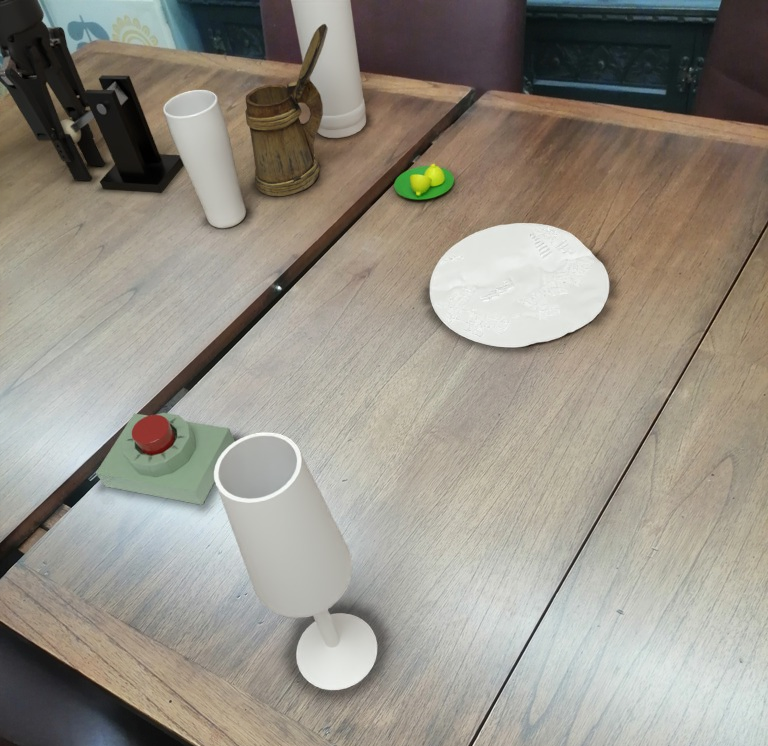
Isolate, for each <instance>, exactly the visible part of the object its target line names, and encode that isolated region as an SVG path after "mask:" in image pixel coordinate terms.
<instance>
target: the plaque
mask: <svg viewBox="0 0 768 746" xmlns="http://www.w3.org/2000/svg"><path fill="white" fill-rule="evenodd" d="M609 293H610V279H609V274H608V271H607V270H606V267H605V266H604V264H603V263H602V262H601V260H599V259H598V258H597V257H596V256H595V255H594V254H593V252H592V250H590V249H589V248H588V247H587V246H585V244H583V242H582V241H581V240H580V239H579V238H577V237H576V236H575V235H574V234H572V233H571V232H569V231H567V230H564V229H562V228H559V227H557V226H554V225H548V224H541V223H535V222H534V223H533V222H524V223H523V222H516V223H514V222H513V223H508V224H498V225H494V226H492V227H488V228H485V229H481V230H478V231H475V232H473V233H471V234H470V235H467V236H466V237H464V238H462V239H461V240H459V241H458V242H457V243H455V244H454V245H452V246H451V247H450V248H449V249H448V250H446V252H445V253H444V254H443V255H442V256H441V258H440V259H439V260H438V262H437V264H436V265H435V267H434V269H433V272H432V274H431V277H430V282H429V298H430V303H431V306H432V308H433V310H434V312H435V314H436V315H437V316H438V318H439V320H441V322H442V323H443V324H444V325H445V326H446V327H447V328H449V330H451V331H453V332H454V333H456V334H457V335H459V336H461V337H463V338H466V339H468V340H470V341H473V342H475V343H479V344H482V345H487V346H492V347H497V348H522V347H527V346H529V345H534V344H537V343H544V342H549V341H553V340H557V339H560V338H562V337H564V336H565V335H567V334H569V333H573V332H575V331H577V330H579V329H581V328H582V327H584V326H586V325H588V324H589V323H590V322H592V321H593V320H594V319H595V318H596V317H597V316H598V315H599V314H600V313H601V311H602V310H603V308H604V306H605V304H606V302H607V300H608V297H609Z"/></svg>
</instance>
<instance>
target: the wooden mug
mask: <svg viewBox="0 0 768 746" xmlns="http://www.w3.org/2000/svg"><path fill="white" fill-rule="evenodd" d="M327 30H328V27H327V26H326V24H323V25H321V26H320V27H319V28H318V29H317V30H316V32H315V33H314V35H313V37H312V39H311V42H310V45H309V47H308V50H307V52H306V55H305V58H304V61H303V60H302V64H301V67H300V71H299V73H298V74H299V75H298V79H297V80H296V81H293V82H290V83H287V84H286V86H285V85H283V84H268V85H263V86H259V87H256V88H254V89H253V90H250V92H248V93H247V94H246V95H245V104H246V109H245V111H244V112H245V122H246V125H247V126H248V127H249V131H250V132H249V133H250V136H251V137H250V138H251V145H252V146H251V147H252V152H253V160H254V179H255V187H256V188H257V190H258V191H260V192H261V193H263V194H265V195H267V196H271V197H285V196H289V195H294V194H296V193H300V192H302V191H304V190H306V189H308V188H309V187H310V186H312V185H313V184H314V183H315V181H316V180H317V179H318V176H319V173H320V166H319V162H318V161H317V158H316V156H315V148H314V145H315V141H316V137H317V134H318V133H317V132H318V129H319V126H320V123H321V119H322V116H323V104H322V100H321V96H320V94H319V92H318V90H317V88H316V87H315V86H314V84H313V83H312V82H311V81H310V76H311V74H312V72H313V70H314V68H315V65H316V63H317V60H318V58H319V56H320V53H321V50H322V48H323V45H324V41H325V38H326V34H327ZM300 104H304V105H306V106H307V107H308V108H309V112H310V113H309V119H308V120H307V121H306V122H304V123H303V122H301V119H300V116H301V114H302V107H301V106H300Z"/></svg>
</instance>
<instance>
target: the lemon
mask: <svg viewBox="0 0 768 746" xmlns="http://www.w3.org/2000/svg"><path fill="white" fill-rule="evenodd" d="M454 182H455V177H454V175H453V173H451V171H449V170H448V169H446V168H444V167H440V166H439V165H436V163H431V165H424V166H417V167H413V168H410V169H408V170H405V171H404V172H402V173H401V174H399V176H398V177H396V179H395V181H394V184H393V187H394V190H395V192H396V193H397V194H398V195H400V196H401V197H403V198H406V199H410V200H428V199H434V198H436V197H439V196H442V195H443V194H445V193H446V192H448V191H449V190H450V189H451V188H452V187H453V185H454Z"/></svg>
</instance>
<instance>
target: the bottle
mask: <svg viewBox="0 0 768 746" xmlns="http://www.w3.org/2000/svg"><path fill="white" fill-rule="evenodd" d="M351 1H352V0H290V2H291V3H290V4H291V8H292V13H293V19H294V23H295V29H296V34H297V39H298V45H299V50H300V55H301V61H302V62H303V61H304V58H305V55H306V52H307V50H308V47H309V45H310V42H311V39H312V37H313V35H314V33H315V32H316V30H317V29H318V28H319V27H320V26H321V25H323V24H326V26H327V27H328V30H327V34H326V38H325V41H324V45H323V48H322V50H321V53H320V56H319V58H318V60H317V63H316V65H315V68H314V70H313V72H312V74H311V76H310V81H311V82H312V83H313V84H314V86H315V87H316V88H317V90H318V92H319V94H320V96H321V100H322V104H323V116H322V119H321V123H320V126H319V129H318V132H317V134H318V135H320V136H321V137H325V138H328V139H342V138H347V137H348V138H349V137H350V136H353V135H355V134H357V133H359V132H361V130H362V129H363V128H364V127H365V126H366V123H367V115H366V114H367V113H366V102H365V99H364V93H363V85H362V78H361V77H362V76H361V70H360V62H359V56H358V55H359V53H358V47H357V41H356V32H355V24H354V17H353V9H352V3H351Z"/></svg>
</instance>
